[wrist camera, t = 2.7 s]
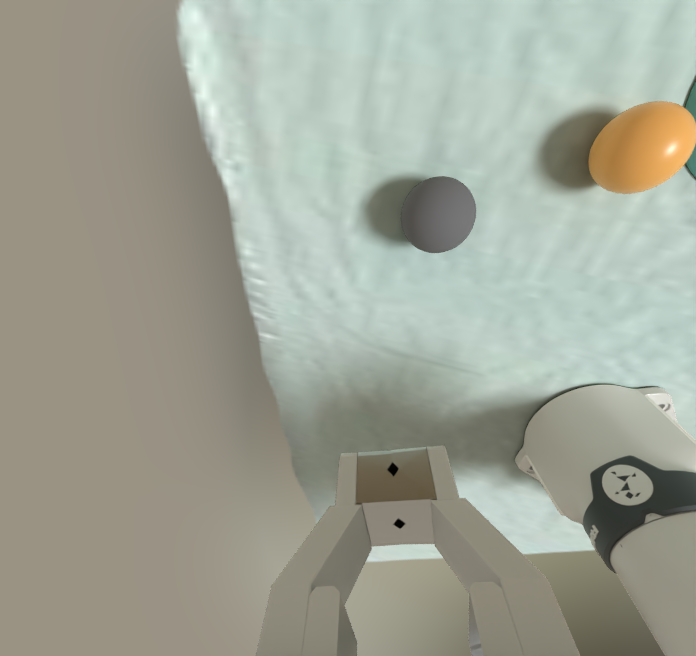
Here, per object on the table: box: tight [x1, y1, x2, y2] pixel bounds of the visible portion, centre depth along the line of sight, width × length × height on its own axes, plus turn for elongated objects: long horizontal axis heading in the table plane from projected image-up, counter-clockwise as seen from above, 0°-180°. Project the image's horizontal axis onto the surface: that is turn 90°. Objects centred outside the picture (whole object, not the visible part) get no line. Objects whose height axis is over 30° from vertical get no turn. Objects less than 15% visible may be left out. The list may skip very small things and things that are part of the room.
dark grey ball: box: [401, 176, 476, 253], centre depth 27 cm, size 6×6×6 cm
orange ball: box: [589, 101, 696, 194], centre depth 24 cm, size 6×6×6 cm
